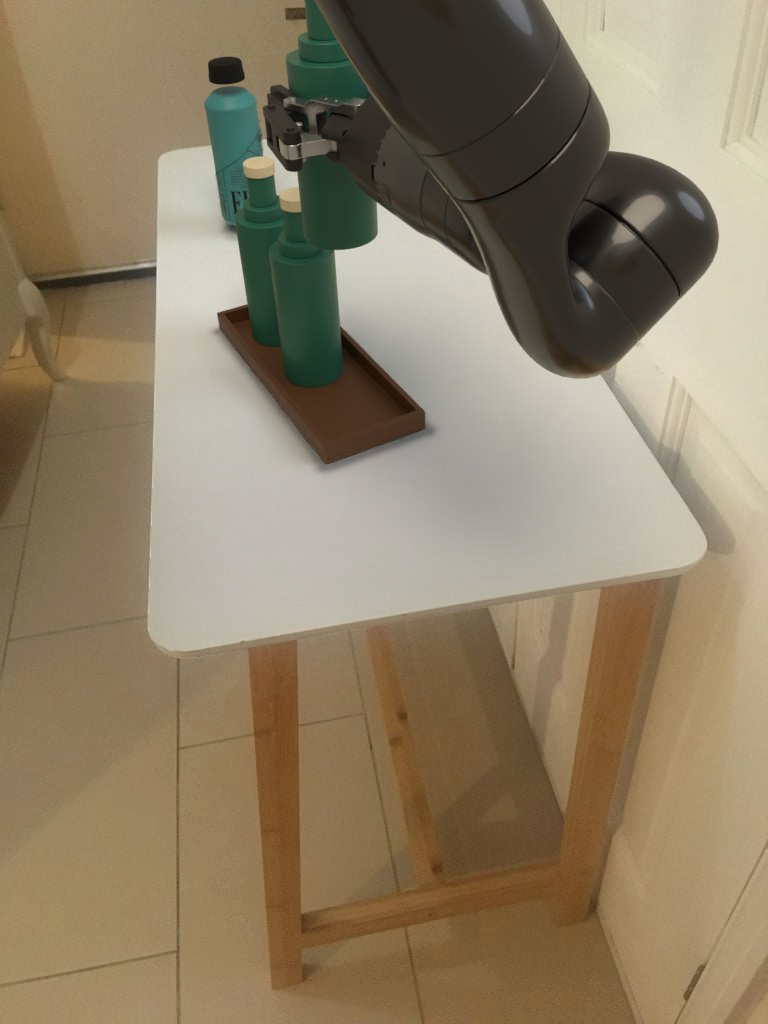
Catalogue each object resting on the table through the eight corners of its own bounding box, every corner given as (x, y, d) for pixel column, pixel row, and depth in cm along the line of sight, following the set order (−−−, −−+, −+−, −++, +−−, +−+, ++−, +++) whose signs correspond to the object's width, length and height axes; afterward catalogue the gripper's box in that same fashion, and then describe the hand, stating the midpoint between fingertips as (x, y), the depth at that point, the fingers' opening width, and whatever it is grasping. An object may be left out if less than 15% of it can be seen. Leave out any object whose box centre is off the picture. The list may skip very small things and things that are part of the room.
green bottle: (292, 246, 68) (263, -20, 56) (318, 215, 72) (296, -39, 60) (364, 253, 66) (350, -17, 54) (387, 221, 71) (378, -37, 59)
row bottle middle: (275, 382, 86) (250, 205, 74) (296, 351, 90) (277, 177, 78) (331, 391, 84) (316, 211, 72) (350, 358, 89) (339, 183, 76)
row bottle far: (243, 343, 91) (215, 171, 79) (264, 315, 96) (241, 148, 83) (296, 350, 90) (276, 177, 78) (315, 321, 94) (299, 152, 82)
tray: (425, 428, 80) (425, 411, 79) (325, 464, 77) (324, 446, 76) (305, 304, 98) (303, 288, 97) (219, 329, 95) (216, 312, 93)
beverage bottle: (231, 242, 110) (204, 71, 96) (216, 222, 114) (189, 56, 101) (280, 231, 112) (260, 62, 98) (264, 212, 116) (243, 48, 103)
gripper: (535, 76, 53) (400, 19, 64) (320, 122, 48) (215, 52, 59) (525, 197, 58) (402, 125, 69) (331, 250, 53) (232, 163, 64)
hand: (316, 91), depth 64 cm, fingers closed on green bottle, 6 cm apart
